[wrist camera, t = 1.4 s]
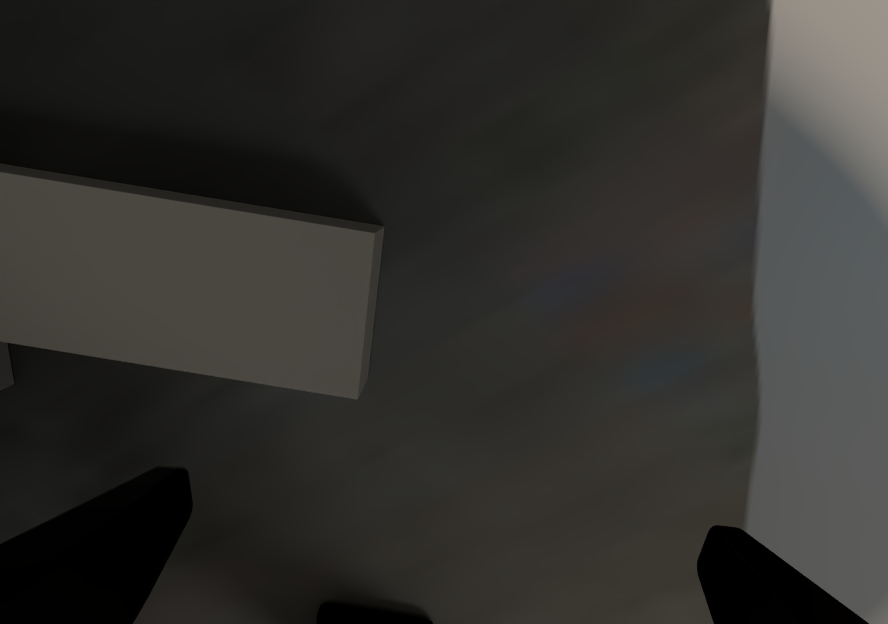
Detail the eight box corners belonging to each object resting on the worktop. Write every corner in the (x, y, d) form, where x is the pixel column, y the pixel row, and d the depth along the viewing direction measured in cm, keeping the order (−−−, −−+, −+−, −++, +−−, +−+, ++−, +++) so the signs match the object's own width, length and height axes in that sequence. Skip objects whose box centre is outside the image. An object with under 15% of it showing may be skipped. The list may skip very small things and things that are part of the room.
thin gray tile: (384, 226, 18) (374, 233, 16) (367, 377, 20) (357, 399, 18) (-2, 163, 18) (-57, 162, 16) (24, 321, 20) (-22, 338, 18)
